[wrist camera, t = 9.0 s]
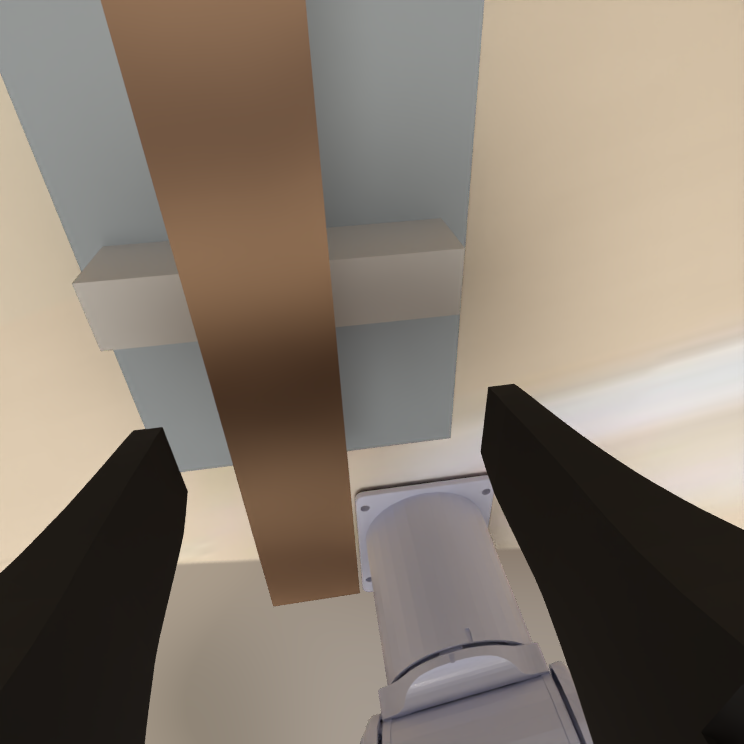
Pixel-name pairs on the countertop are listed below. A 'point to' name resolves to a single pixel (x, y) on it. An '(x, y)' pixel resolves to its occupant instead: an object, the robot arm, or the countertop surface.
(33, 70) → the ridge board
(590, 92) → the countertop surface
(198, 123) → the walnut batten
